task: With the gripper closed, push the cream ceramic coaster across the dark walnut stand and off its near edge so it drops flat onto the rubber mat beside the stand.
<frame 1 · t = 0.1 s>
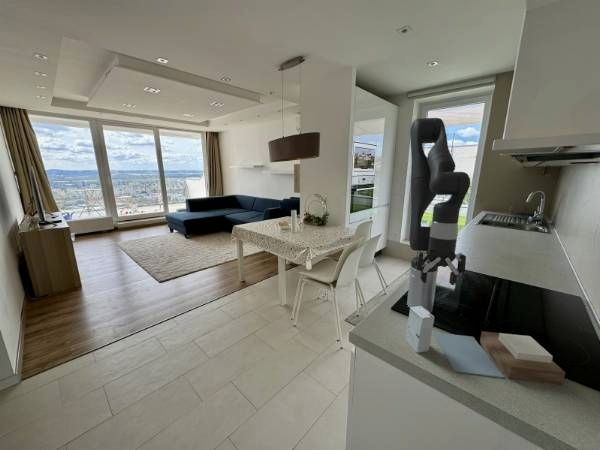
hand: (437, 283, 79), 17 cm above the worktop, tool pointing down, fingers open, 8 cm apart
stand: (516, 361, 69), on the worktop
coaster: (522, 350, 68), point 4 cm above the worktop, touching stand
mat: (464, 353, 72), on the worktop
skincare box: (417, 346, 75), on the worktop
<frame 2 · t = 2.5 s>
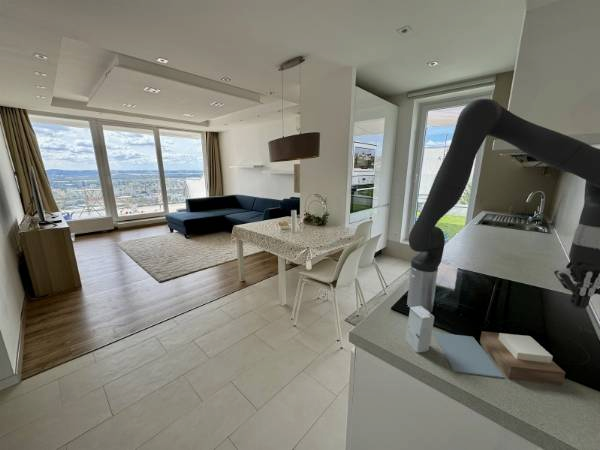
hand: (577, 306, 63), 19 cm above the worktop, tool pointing down, fingers closed
nothing on the worktop moved.
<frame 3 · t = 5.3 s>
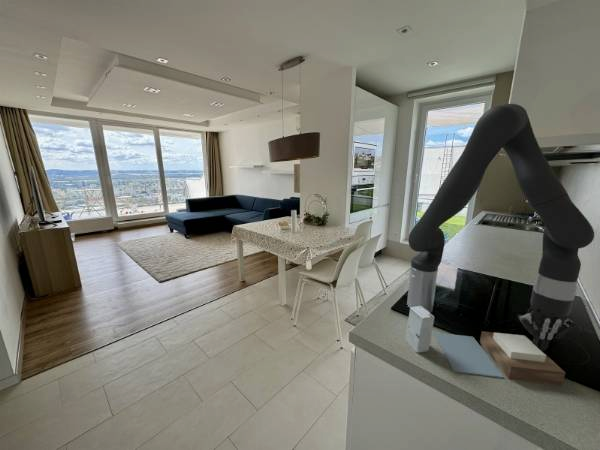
hand: (539, 348, 67), 5 cm above the worktop, tool pointing down, fingers closed
coaster: (516, 349, 68), point 4 cm above the worktop, touching gripper, stand
everything else where it was.
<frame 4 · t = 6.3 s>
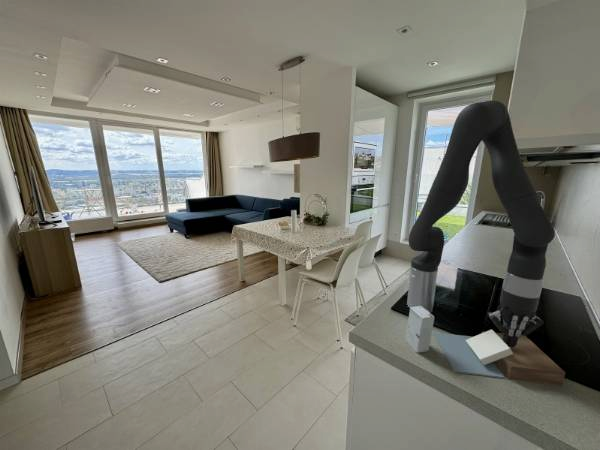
hand: (508, 345, 68), 5 cm above the worktop, tool pointing down, fingers closed
coaster: (489, 349, 69), point 3 cm above the worktop, tilted 34°
everything else where it was.
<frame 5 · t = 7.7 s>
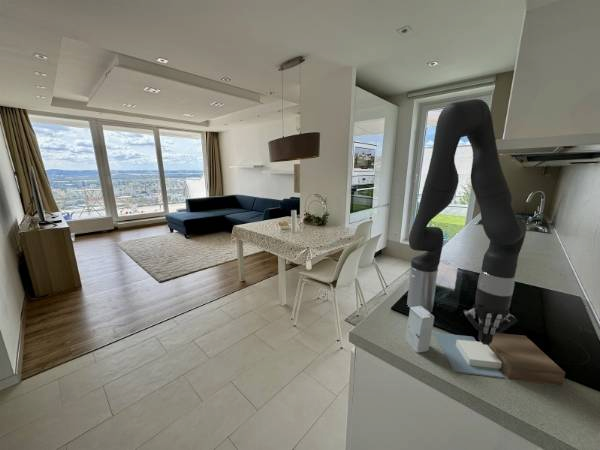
hand: (484, 342, 69), 5 cm above the worktop, tool pointing down, fingers closed
coaster: (476, 356, 70), resting on mat
everything else where it was.
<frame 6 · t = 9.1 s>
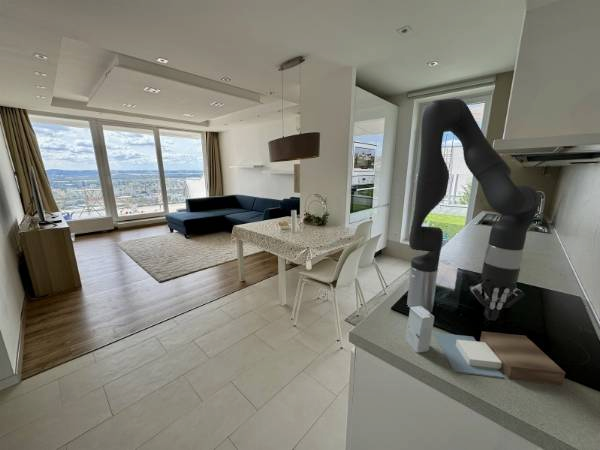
hand: (490, 318, 68), 13 cm above the worktop, tool pointing down, fingers closed
nothing on the worktop moved.
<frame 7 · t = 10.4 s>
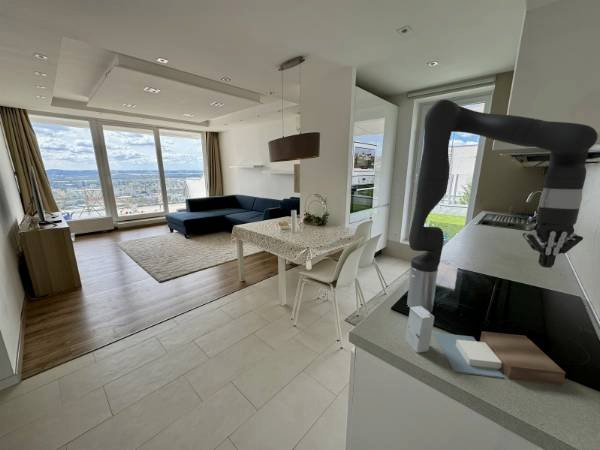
hand: (545, 266, 68), 27 cm above the worktop, tool pointing down, fingers closed
nothing on the worktop moved.
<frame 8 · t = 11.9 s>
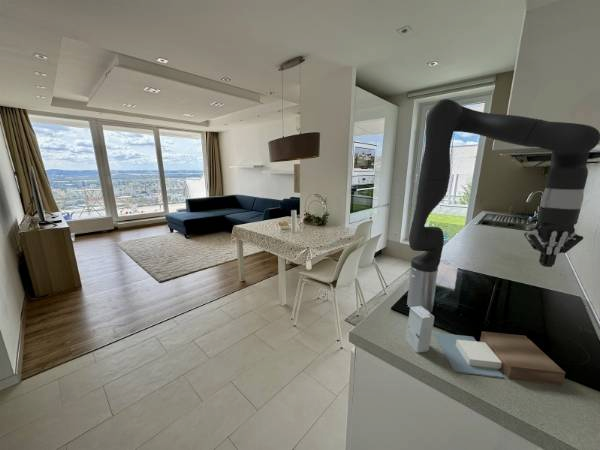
hand: (545, 265, 68), 27 cm above the worktop, tool pointing down, fingers closed
nothing on the worktop moved.
at the end: coaster inside the target area (3.4 cm from its centre), resting on mat; coaster tilted 0°; coaster touching mat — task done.
